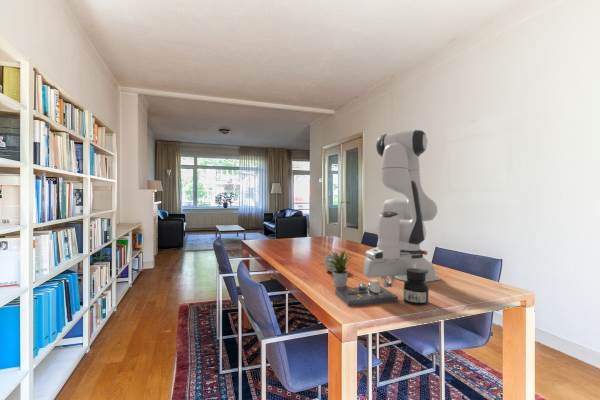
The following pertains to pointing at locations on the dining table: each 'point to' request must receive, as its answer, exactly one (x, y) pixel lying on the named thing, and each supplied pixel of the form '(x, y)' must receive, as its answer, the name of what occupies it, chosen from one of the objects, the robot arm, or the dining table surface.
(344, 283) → the house plant
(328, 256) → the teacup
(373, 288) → the fader cap
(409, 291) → the ink bottle
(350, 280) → the dining table surface
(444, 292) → the dining table surface
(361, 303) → the console
